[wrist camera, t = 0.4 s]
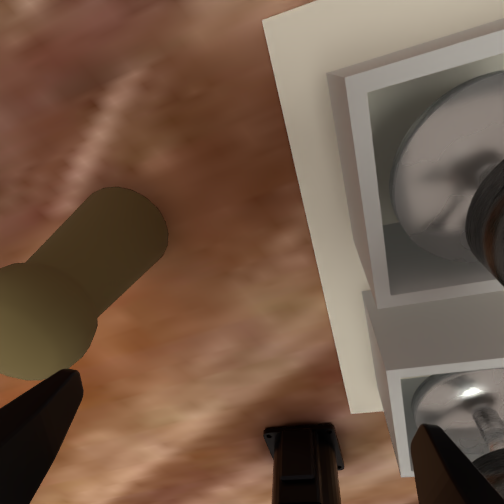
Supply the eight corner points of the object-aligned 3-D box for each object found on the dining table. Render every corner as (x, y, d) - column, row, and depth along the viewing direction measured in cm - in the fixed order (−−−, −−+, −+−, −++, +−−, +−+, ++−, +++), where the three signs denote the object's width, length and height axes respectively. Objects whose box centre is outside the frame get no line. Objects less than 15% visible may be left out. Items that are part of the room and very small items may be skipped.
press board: (537, 386, 25) (622, 496, 19) (349, 403, 29) (366, 503, 22) (610, -102, 13) (928, -269, 7) (263, 22, 16) (243, -6, 10)
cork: (145, 176, 21) (19, 273, 11) (182, 259, 23) (105, 395, 14) (63, 198, 22) (-113, 302, 12) (106, 275, 25) (-11, 408, 15)
